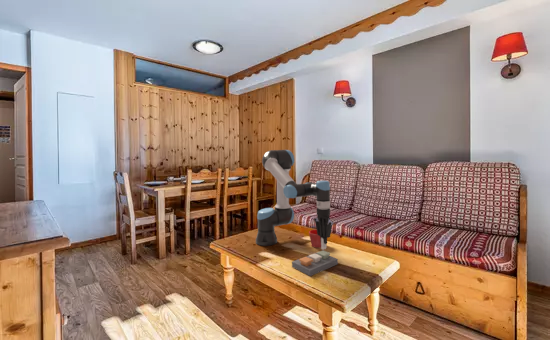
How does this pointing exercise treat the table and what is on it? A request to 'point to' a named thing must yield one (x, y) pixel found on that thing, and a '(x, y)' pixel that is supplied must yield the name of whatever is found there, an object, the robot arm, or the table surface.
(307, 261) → the rust button
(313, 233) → the flower pot
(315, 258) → the cream button
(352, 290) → the table surface
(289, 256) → the table surface
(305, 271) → the button panel
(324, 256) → the sage button
